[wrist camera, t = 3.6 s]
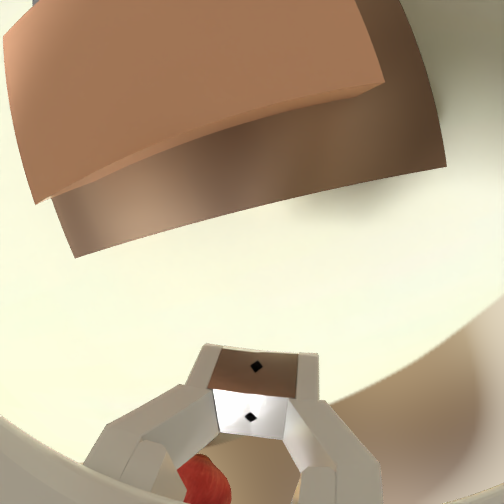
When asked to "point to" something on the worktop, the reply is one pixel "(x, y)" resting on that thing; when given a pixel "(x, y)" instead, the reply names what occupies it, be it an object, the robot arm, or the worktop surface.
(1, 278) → the worktop surface
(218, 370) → the robot arm
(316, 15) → the orange rectangular block
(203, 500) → the onion
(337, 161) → the board
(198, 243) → the worktop surface
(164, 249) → the worktop surface
